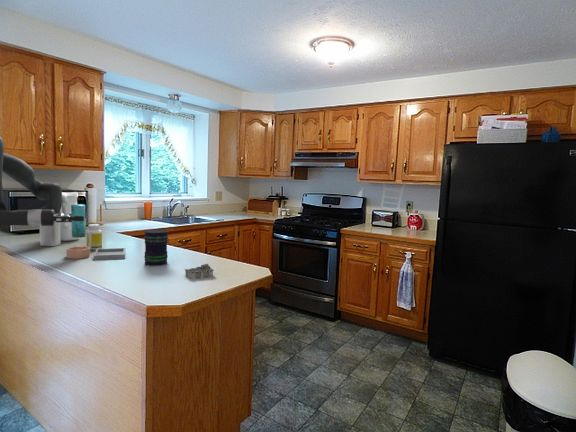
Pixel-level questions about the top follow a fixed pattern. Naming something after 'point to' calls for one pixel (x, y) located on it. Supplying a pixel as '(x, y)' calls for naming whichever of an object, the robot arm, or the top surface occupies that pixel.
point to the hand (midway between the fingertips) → (84, 217)
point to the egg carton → (199, 271)
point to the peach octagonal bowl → (78, 252)
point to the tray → (109, 253)
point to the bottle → (78, 226)
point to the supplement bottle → (94, 237)
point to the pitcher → (66, 204)
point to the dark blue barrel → (156, 247)
